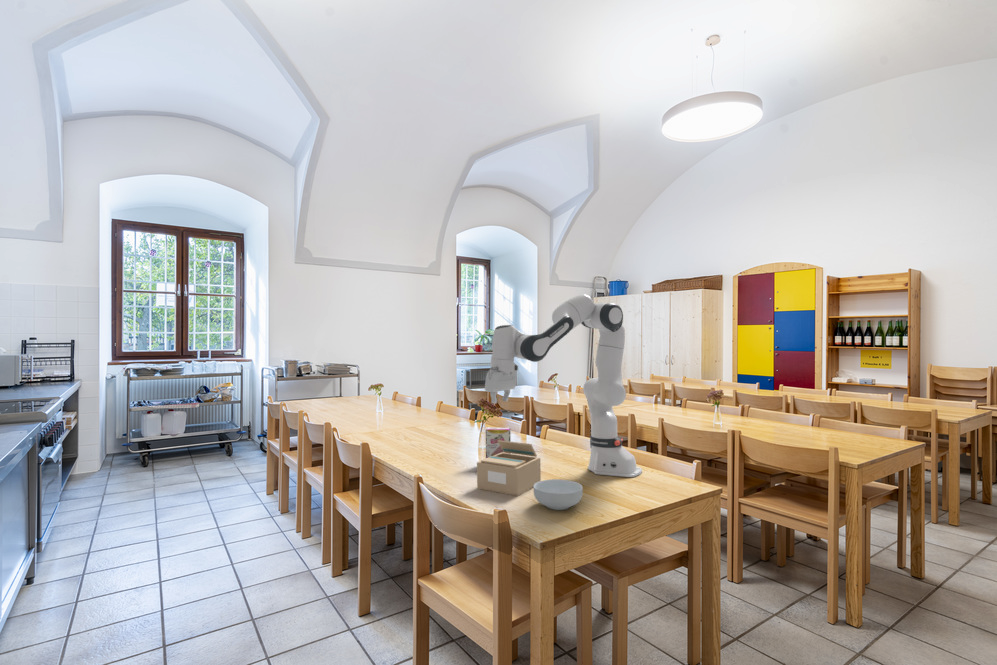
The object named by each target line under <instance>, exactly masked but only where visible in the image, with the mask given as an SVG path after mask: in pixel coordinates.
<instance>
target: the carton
mask: <svg viewBox="0 0 997 665" xmlns="http://www.w3.org/2000/svg"><path fill="white" fill-rule="evenodd" d="M494 456H497V457H504V458H511V459H517V460H524V461H526V462H525V463H523V464H521V465H519V466H517V467H511V466H505V465H498V464H492V463H485V462H481V460H479V461H477V462H476V484H477V487H476V488H477V490H478V489H479V490H484V491H488V492H494V493H500V494H503V495H505V494H506V495H510V496H516V497H519V496H521V495H522V494H525V493H526V492H528V491H529V490H531V489H533V486H534V484H535V483H537V482H539V481H542V478H541V477H542V476H541V472H542V471H541V470H542V469H541V457H539V456H537V457H533V456H526V455H519V454H512V453H511V454H510V453H503V452H501V453H499V454H496V455H494Z"/></svg>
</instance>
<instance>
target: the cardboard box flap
mask: <svg viewBox="0 0 997 665" xmlns="http://www.w3.org/2000/svg"><path fill="white" fill-rule="evenodd" d="M498 443H499V445H500V446H501V448H502V450H503V452H505V453H511V454H517V455H524V456H531V457H538V455H537V453H536V451H535V448H534V446H533V444H532V443H525V442H524V443H523V442H517V441H511V442H510V441H502V440H498Z"/></svg>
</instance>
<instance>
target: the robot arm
mask: <svg viewBox="0 0 997 665" xmlns="http://www.w3.org/2000/svg"><path fill="white" fill-rule="evenodd" d="M551 320H552V321H551V322H552V323H553V324H551V325H550V326H549V327H548V328H547V329H546V330H544V331H543V332H542V333H539V334H532V335H531V334H525V333H523V332H522V331H520V330H519V329H517V328H516V327H515V326H514V325H512V324H503V325H499V326H496V327H495V328H494V330H493V333H492V334H493V335H492V339H491V340H492V343H491V351H492V354H491V357H490V358H491V360H490V368H489V370H488V371H487V372H486V376H485V383H484V390H485V392H489V395H490V398H491V402H490V403H491V404H498V398H497V395H498V394H497V393H498V392H503V396H502V401H503V402H508V401H509V397H510V394H511V390H515V388H516V386H517V379H518V371H519V365H518V364H516V362H515V358H517V359H521V360H526V361H530V362H536V363H537V362H540V361H542V360H543V359H544V358H546V356H547V354H548V353H549V351H550V350H551V348H553V347H554V346H555V345H556V344H557V343H558V342H559V341H561V340H562V339H563V338H564V337H565V336H567V335H568V334H569V333H570V332H571V331H572V330H574V329H575V328H576V327H577V326H579V325H580V324H581V325H582V326H583V327H585V328H588V329H595V330H596V329H597V330H598V331H599V339H598V345H597V350H596V357H595V366H596V369H597V377H593V378H590V379H588V380H586V382H584V384H583V389H582V390H583V394H584V396H585V398H586V401H587V402H586V403H587V405H588V409H589V414H590V428H591V429H590V434H591V435H590V436H589V438H590V440H589V445H590V456H589V462H588V466H587V469H588V470H589V471H590V472H592V473H594V475H601V476H602V475H603V476H613V477H622V478H623V477H624V478H625V477H626V478H634V477H635V478H636V477H638V476H640V475H641V473H642V472H643V471H642V467H640V466H637V462H636V457H635V456H634V455H633V453H631V452H630V451H629V450H628V449H626V447H624V446H623V440H624V438H620V437H619V436H618V418H617V416H616V413H615V411H614V407H616V406H621V405H622V404H623V403H624V402H625V400H626V397H627V391H626V389H625V387H624V384H623V377H622V363H623V356H624V350H625V340H626V336H625V335H626V331H625V327H624V325H623V322H624V313H623V310H622V308H621V307H620V305H618V304H616V303H613V302H596V303H595V302H594V300H593V298H592V297H590V296H589V295H587V294H585V293H583V294H582V293H581V294H578V295H575V296H573V297H570V298H569V299H568V300H566V301H564V302H563V303H561V304H560V305H559V306H557V307H556V308H555V309H554V310H553V311H552V315H551Z"/></svg>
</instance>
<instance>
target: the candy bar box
mask: <svg viewBox="0 0 997 665" xmlns="http://www.w3.org/2000/svg"><path fill="white" fill-rule="evenodd" d="M498 440H502V441H510V442H512V428H511V427H486V429H485V459H486V458H488V457H490V456H494V455H496V454H499V453H501V452H503V450H502V448H501V446H500V445H499V443H498ZM503 453H505V452H503ZM510 454H512V453H510Z"/></svg>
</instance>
